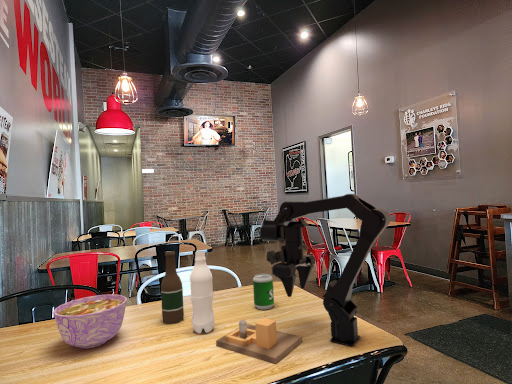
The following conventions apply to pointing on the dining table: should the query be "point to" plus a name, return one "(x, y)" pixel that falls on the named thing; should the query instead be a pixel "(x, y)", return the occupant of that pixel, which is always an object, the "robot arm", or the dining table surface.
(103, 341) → the bowl of food
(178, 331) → the dining table surface
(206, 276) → the water bottle
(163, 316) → the beer bottle
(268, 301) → the soda can
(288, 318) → the dining table surface
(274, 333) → the square frame with handle
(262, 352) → the board
